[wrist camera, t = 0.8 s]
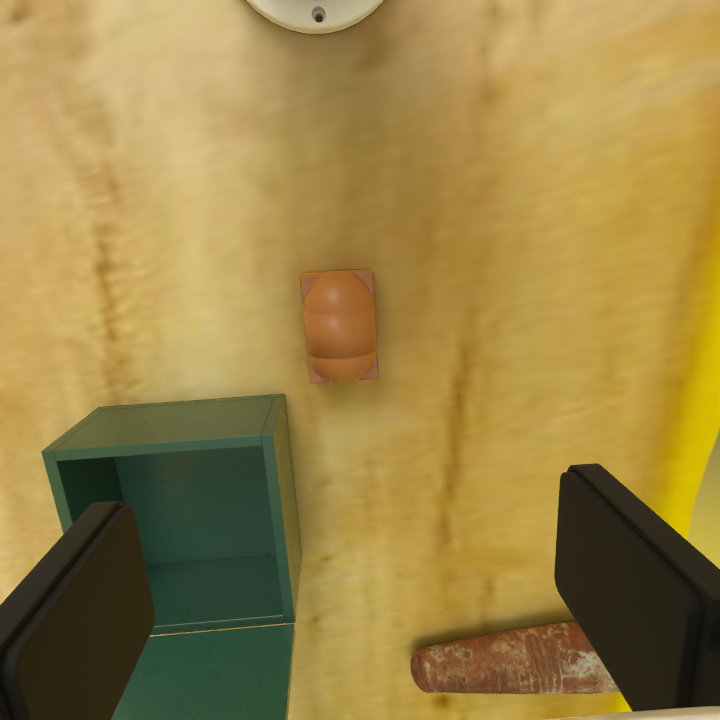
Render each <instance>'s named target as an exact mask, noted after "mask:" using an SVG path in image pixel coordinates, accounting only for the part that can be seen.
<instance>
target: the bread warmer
mask: <svg viewBox="0 0 720 720" xmlns="http://www.w3.org/2000/svg"><path fill="white" fill-rule="evenodd" d="M42 456H43V459H44V463H45V467H46V470H47V474H48V478H49V482H50V485H51V489H52V493H53V496H54V500H55V504H56V507H57V511H58V515H59V519H60V522H61V526H62V530H63V533H64V534H65V532H66V531H67V530H68V529H69V528H70V527H71V526H72V525H73V524H74V522H75V521H76V520H77V519H78V518H79V517H80V516H81V515H82V514H83V512H84V511H85V510H86V509H87V508H88V507H89V506H90V505H91V504H92V503H99V502H112V501H122V502H124V503H125V505H126V507H131V508H133V510H134V512H135V517H136V521H137V526H138V531H139V536H140V541H141V545H142V550H143V555H144V560H145V564H146V569H147V574H148V579H149V584H150V588H151V593H152V598H153V603H154V608H155V622H154V626H153V629H152V632H151V634H150V635H160V634H171V633H182V632H194V631H205V630H216V629H227V628H239V627H250V626H261V625H273V624H284V623H285V624H286V623H295V620H296V610H297V600H298V590H299V579H300V569H301V558H302V550H301V541H300V532H299V522H298V513H297V504H296V494H295V485H294V476H293V467H292V457H291V448H290V439H289V429H288V420H287V411H286V402H285V395H284V394H278V395H264V396H250V397H236V398H222V399H208V400H194V401H181V402H167V403H153V404H139V405H125V406H111V407H98V408H97V409H96V410H94V411H93V412H92V413H90V414H89V415H88V416H86V417H85V418H84V419H83V420H81V421H80V422H79V423H77V424H76V425H75V426H74V427H72V428H71V429H70V430H68V431H67V432H66V433H64V434H63V435H62V436H61V437H59V438H58V439H57V440H55V441H54V442H53V443H52V444H50V445H49V446H48V447H46V448H45V449H44V450H43V451H42Z"/></svg>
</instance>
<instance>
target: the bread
mask: <svg viewBox="0 0 720 720" xmlns="http://www.w3.org/2000/svg"><path fill="white" fill-rule="evenodd" d="M411 672H412V676H413V679H414V681H415V683H416V684H417V686H418V687H419V688H420V689H421V690H423V691H424V692H426V693H433V692H450V693H484V694H488V693H496V694H592V693H601V692H620V690H619V689H618V687H617V685H616V684H615V682H614V681H613V679H612V677H611V676H610V674H609V673H608V671H607V669H606V668H605V666H604V665H603V663H602V661H601V660H600V658H599V657H598V655H597V653H596V652H595V650H594V648H593V647H592V645H591V644H590V642H589V640H588V639H587V637H586V636H585V634H584V632H583V631H582V629H581V628H580V626H579V624H578V623H577V621H570V622H562V623H552V624H545V625H539V626H533V627H527V628H522V629H519V630H510V631H503V632H499V633H494V634H488V635H482V636H475V637H469V638H464V639H461V640H456V641H450V642H444V643H439V644H436V645H431V646H428V647H423V648H419V649H418V650H417V651H416V652H415V653H414V654H413V655H412V658H411Z"/></svg>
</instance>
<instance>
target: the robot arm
mask: <svg viewBox="0 0 720 720" xmlns="http://www.w3.org/2000/svg"><path fill="white" fill-rule="evenodd" d="M246 1H247V2H248V3H249V4H250V5H251V6H252V7H253V8H254V9H255V10H256V11H258V12H259V13H260V14H262V15H263V16H264V17H266V18H267V19H269V20H270V21H271V22H273V23H276V24H278V25H280V26H282V27H284V28H287V29H289V30H293V31H297V32H302V33H306V34H326V33H330V32H335V31H340V30H343V29H345V28H348V27H350V26H352V25H354V24H356V23H359V22H360V21H361V20H363V19H364V18H365V17H367V16H368V15H369V14H371V13H372V12H373V11H374V10H375V9H376V8H377V7H378V6H379V5H380V4H381V3H382V1H383V0H246ZM318 16H320V17H322V18H323V21H322V22H316V21H315V19H316V17H318ZM555 583H556V587H557V589H558V592H559V594H560V595H561V597H562V599H563V600H564V602H565V604H566V605H567V607H568V608H569V610H570V612H571V613H572V615H573V616H574V618H575V620H576V621H577V623H578V624H579V626H580V628H581V629H582V631H583V632H584V634H585V636H586V637H587V639H588V640H589V642H590V644H591V645H592V647H593V648H594V650H595V652H596V653H597V655H598V657H599V658H600V660H601V661H602V663H603V665H604V666H605V668H606V669H607V671H608V673H609V674H610V676H611V677H612V679H613V681H614V682H615V684H616V685H617V687H618V689H619V690H620V692H621V693H622V695H623V697H624V698H625V700H626V702H627V703H628V705H629V706H630V708H631V710H632V711H633V712H623V713H609V714H598V715H587V716H576V717H565V718H554V719H543V720H720V569H718V568H717V567H716V566H715V565H714V564H713V563H712V562H711V561H709V560H708V559H707V558H706V557H705V556H704V555H703V554H701V553H700V552H699V551H698V550H697V549H696V548H695V547H694V546H692V545H691V544H690V543H689V542H688V541H687V540H686V539H684V538H683V537H682V536H681V535H680V534H679V533H678V532H676V531H675V530H674V529H673V528H672V527H671V526H670V525H668V524H667V523H666V522H665V521H664V520H663V519H662V518H660V517H659V516H658V515H657V514H656V513H655V512H654V511H652V510H651V509H650V508H649V507H648V506H647V505H646V504H644V503H643V502H642V501H641V500H640V499H639V498H638V497H636V496H635V495H634V494H633V493H632V492H631V491H630V490H628V489H627V488H626V487H625V486H624V485H623V484H622V483H620V482H619V481H618V480H617V479H616V478H615V477H614V476H612V475H611V474H610V473H609V472H608V471H607V470H606V469H604V468H603V467H602V466H601V465H599V464H582V465H571V466H570V467H569V468H568V470H567V472H565V473H562V475H561V478H560V490H559V507H558V524H557V540H556V557H555ZM154 622H155V608H154V603H153V598H152V593H151V588H150V584H149V579H148V574H147V569H146V564H145V560H144V555H143V550H142V545H141V541H140V536H139V531H138V526H137V521H136V517H135V512H134V510H133V508H131V507H126V505H125V503H124V502H122V501H112V502H99V503H92V504H91V505H90V506H89V507H88V508H87V509H86V510H85V511H84V512H83V514H82V515H81V516H80V517H79V518H78V519H77V520H76V521H75V522H74V524H73V525H72V526H71V527H70V528H69V529H68V530H67V531H66V532H65V534H64V535H63V536H62V537H61V538H60V539H59V540H58V541H57V543H56V544H55V545H54V546H53V547H52V548H51V549H50V550H49V551H48V553H47V554H46V555H45V556H44V557H43V558H42V559H41V560H40V562H39V563H38V564H37V565H36V566H35V567H34V568H33V569H32V570H31V572H30V573H29V574H28V575H27V576H26V577H25V578H24V579H23V580H22V582H21V583H20V584H19V585H18V586H17V587H16V588H15V589H14V591H13V592H12V593H11V594H10V595H9V596H8V597H7V598H6V599H5V601H4V602H3V603H2V604H1V605H0V720H111V719H112V717H113V714H114V712H115V710H116V708H117V706H118V704H119V701H120V699H121V697H122V695H123V693H124V690H125V688H126V686H127V684H128V682H129V680H130V677H131V675H132V673H133V671H134V669H135V666H136V664H137V662H138V660H139V658H140V656H141V653H142V651H143V649H144V647H145V645H146V642H147V640H148V638H149V636H150V634H151V632H152V629H153V626H154Z"/></svg>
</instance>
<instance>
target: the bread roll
mask: <svg viewBox="0 0 720 720" xmlns="http://www.w3.org/2000/svg"><path fill="white" fill-rule="evenodd" d="M300 281H301V292H302V303H303V314H304V325H305V336H306V347H307V357H308V368H309V379H310V383H324V382H332V383H335V384H349V383H353V382H355V381H357V380H366V379H378V359H377V338H376V318H375V297H374V277H373V272H372V271H371V270H370V269H355V270H339V271H323V272H307V273H303V274H302V276H301V277H300Z"/></svg>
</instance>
